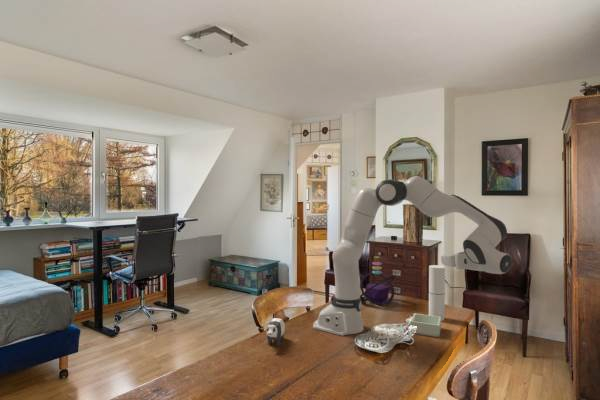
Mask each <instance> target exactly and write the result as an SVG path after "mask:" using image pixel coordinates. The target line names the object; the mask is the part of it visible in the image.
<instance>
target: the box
mask: <svg viewBox="0 0 600 400" xmlns="http://www.w3.org/2000/svg"><path fill="white" fill-rule="evenodd" d="M409 324H410V325H414V326H417V330H416V335H421V336H428V337H435V338H440V335H441V329H442V321H441V317H438V316H431V315H429V314H422V313H415V312H414V313H413V314H412V317H411V319H410V323H409ZM410 325H409V326H410Z"/></svg>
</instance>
